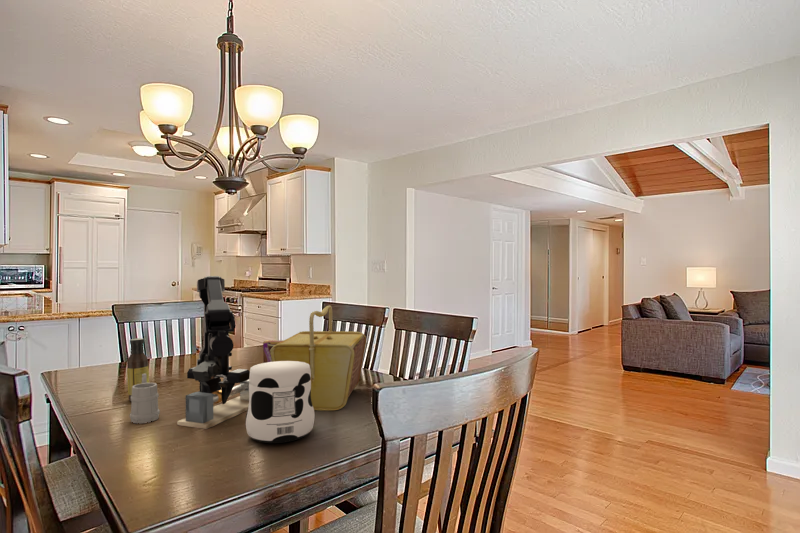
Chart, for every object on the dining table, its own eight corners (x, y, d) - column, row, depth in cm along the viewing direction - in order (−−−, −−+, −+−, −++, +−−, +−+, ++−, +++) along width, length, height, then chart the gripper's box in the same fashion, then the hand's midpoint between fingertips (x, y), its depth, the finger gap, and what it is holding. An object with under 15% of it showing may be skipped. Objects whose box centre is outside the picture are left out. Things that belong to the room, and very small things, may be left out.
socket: (196, 416, 136) (196, 391, 136) (213, 418, 134) (213, 393, 134) (185, 421, 133) (185, 395, 132) (203, 423, 131) (202, 397, 130)
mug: (129, 425, 132) (129, 382, 132) (129, 414, 142) (129, 373, 142) (160, 421, 136) (160, 379, 135) (158, 410, 146) (158, 370, 146)
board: (251, 394, 163) (251, 391, 163) (276, 396, 160) (276, 393, 160) (177, 424, 132) (177, 421, 132) (206, 429, 129) (206, 425, 129)
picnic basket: (353, 413, 142) (353, 312, 142) (268, 412, 144) (268, 312, 143) (367, 388, 171) (366, 304, 171) (296, 387, 173) (295, 304, 173)
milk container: (280, 421, 135) (279, 357, 135) (328, 431, 127) (327, 364, 126) (230, 440, 120) (230, 369, 120) (281, 454, 112) (280, 377, 112)
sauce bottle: (152, 396, 161) (152, 337, 161) (143, 401, 155) (143, 340, 155) (133, 396, 161) (133, 337, 161) (123, 401, 155) (122, 340, 155)
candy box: (289, 379, 184) (289, 339, 184) (286, 382, 180) (286, 341, 180) (266, 379, 185) (266, 339, 184) (263, 382, 180) (262, 341, 180)
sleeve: (257, 392, 161) (257, 373, 161) (267, 393, 160) (267, 374, 160) (240, 399, 153) (239, 379, 153) (250, 401, 152) (250, 380, 152)
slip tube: (244, 389, 155) (244, 379, 155) (253, 390, 153) (253, 380, 153) (194, 409, 134) (194, 397, 134) (204, 410, 133) (203, 398, 133)
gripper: (172, 353, 136) (172, 407, 136) (226, 357, 130) (226, 414, 130) (200, 346, 147) (201, 397, 147) (251, 350, 140) (252, 403, 141)
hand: (218, 403), depth 141 cm, fingers closed on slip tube, 3 cm apart
